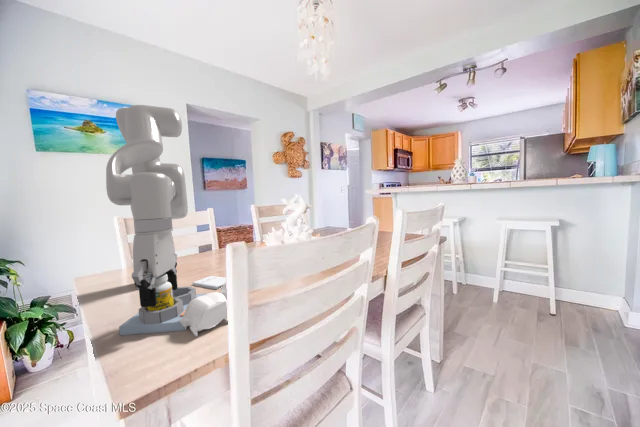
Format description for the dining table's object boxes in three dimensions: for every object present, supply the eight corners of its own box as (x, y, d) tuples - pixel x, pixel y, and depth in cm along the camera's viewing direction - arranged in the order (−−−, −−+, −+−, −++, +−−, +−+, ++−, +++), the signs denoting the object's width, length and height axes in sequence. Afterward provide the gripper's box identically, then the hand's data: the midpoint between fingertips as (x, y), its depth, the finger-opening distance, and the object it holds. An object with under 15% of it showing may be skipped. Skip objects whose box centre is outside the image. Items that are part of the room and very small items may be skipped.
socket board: (160, 303, 76) (159, 288, 75) (210, 300, 77) (209, 284, 76) (119, 335, 59) (117, 315, 58) (185, 330, 60) (183, 310, 59)
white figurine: (206, 350, 57) (257, 302, 67) (189, 321, 54) (245, 276, 64) (187, 337, 63) (237, 295, 73) (170, 310, 59) (225, 270, 70)
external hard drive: (217, 291, 85) (192, 286, 91) (237, 283, 92) (212, 279, 98) (217, 286, 85) (192, 282, 91) (236, 278, 92) (211, 274, 98)
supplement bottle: (174, 308, 67) (171, 271, 66) (174, 316, 62) (170, 276, 62) (149, 313, 64) (145, 275, 64) (147, 322, 60) (143, 281, 59)
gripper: (157, 223, 70) (163, 286, 72) (110, 232, 53) (119, 315, 54) (186, 221, 71) (191, 284, 72) (149, 230, 53) (157, 312, 55)
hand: (160, 297), depth 63 cm, fingers open, 9 cm apart
